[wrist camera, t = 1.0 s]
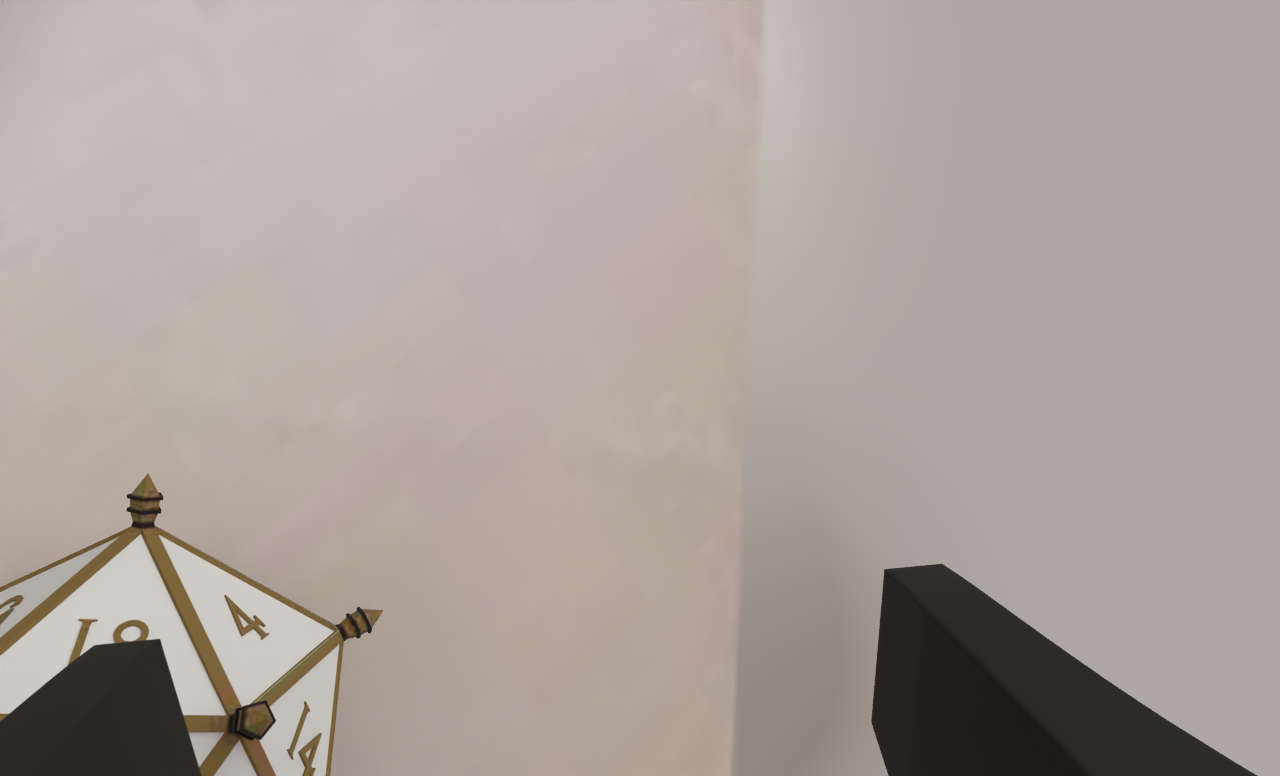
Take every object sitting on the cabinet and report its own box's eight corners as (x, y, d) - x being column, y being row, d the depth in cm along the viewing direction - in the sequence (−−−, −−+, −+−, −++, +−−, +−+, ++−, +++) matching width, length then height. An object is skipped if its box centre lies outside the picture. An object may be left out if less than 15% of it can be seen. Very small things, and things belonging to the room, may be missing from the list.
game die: (252, 604, 25) (508, 509, 19) (197, 987, 21) (494, 1017, 15) (-175, 532, 19) (8, 362, 13) (-361, 1053, 15) (-221, 1143, 9)
